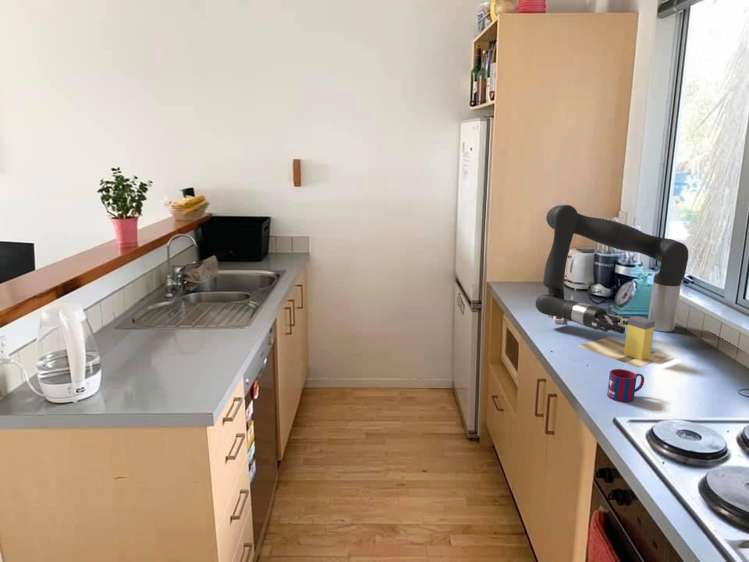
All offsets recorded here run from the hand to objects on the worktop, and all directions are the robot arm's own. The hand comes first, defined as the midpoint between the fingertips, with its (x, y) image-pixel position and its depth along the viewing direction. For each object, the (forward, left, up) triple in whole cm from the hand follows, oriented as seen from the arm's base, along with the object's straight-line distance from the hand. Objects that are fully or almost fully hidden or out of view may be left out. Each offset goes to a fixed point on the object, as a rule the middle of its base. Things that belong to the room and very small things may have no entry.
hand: (632, 328), depth 188 cm
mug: (+29, +18, -10) cm, 35 cm away
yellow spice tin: (0, +3, -8) cm, 9 cm away
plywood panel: (+1, -2, -9) cm, 10 cm away
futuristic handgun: (-19, -35, -10) cm, 41 cm away
